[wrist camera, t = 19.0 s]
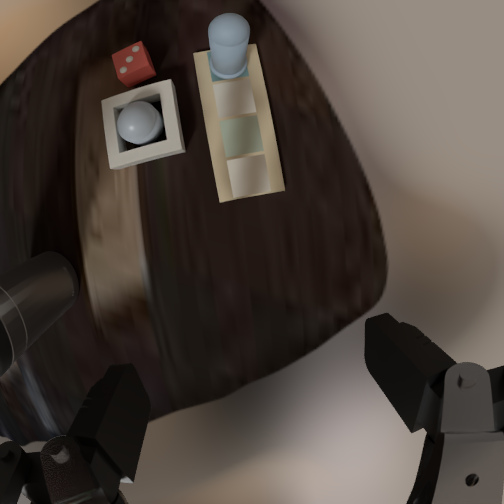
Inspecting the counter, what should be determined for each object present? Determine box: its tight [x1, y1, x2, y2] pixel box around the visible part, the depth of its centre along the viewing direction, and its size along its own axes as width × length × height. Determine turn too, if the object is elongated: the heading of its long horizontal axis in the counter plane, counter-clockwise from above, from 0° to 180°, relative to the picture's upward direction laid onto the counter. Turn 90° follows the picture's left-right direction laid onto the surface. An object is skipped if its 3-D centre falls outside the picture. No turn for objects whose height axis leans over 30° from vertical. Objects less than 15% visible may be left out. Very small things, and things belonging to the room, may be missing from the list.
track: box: [193, 44, 285, 202], centre depth 32 cm, size 8×20×1 cm, turn 10°
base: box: [101, 79, 186, 169], centre depth 30 cm, size 9×9×3 cm
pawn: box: [208, 13, 250, 79], centre depth 25 cm, size 5×5×11 cm
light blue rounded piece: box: [117, 101, 164, 145], centre depth 29 cm, size 5×5×6 cm
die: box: [112, 41, 156, 88], centre depth 28 cm, size 4×4×4 cm
